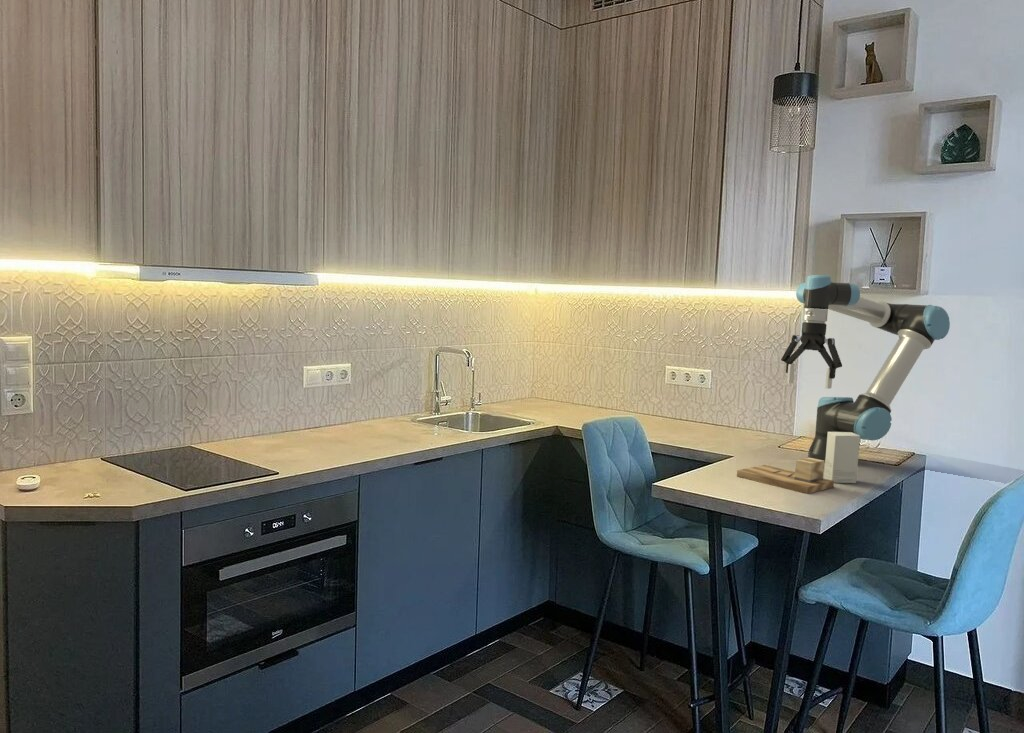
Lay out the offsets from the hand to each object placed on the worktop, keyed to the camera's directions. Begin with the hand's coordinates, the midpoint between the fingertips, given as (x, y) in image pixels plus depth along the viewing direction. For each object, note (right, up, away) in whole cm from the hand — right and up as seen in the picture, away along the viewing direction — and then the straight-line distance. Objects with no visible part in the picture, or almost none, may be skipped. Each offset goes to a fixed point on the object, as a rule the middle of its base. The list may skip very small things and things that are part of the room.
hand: (808, 385), depth 262 cm
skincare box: (+6, -30, -10) cm, 33 cm away
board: (-14, -30, -15) cm, 36 cm away
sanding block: (-7, -28, -20) cm, 35 cm away
